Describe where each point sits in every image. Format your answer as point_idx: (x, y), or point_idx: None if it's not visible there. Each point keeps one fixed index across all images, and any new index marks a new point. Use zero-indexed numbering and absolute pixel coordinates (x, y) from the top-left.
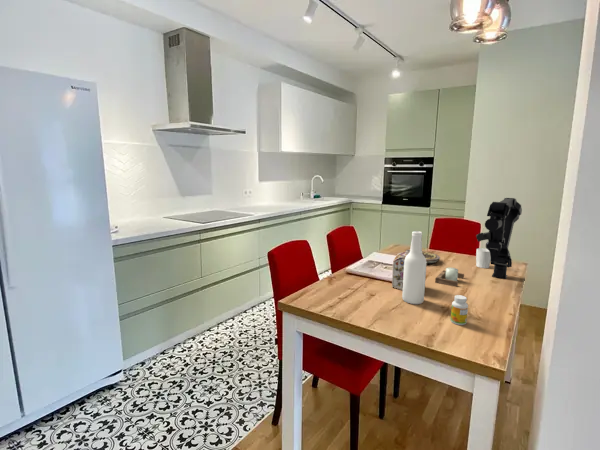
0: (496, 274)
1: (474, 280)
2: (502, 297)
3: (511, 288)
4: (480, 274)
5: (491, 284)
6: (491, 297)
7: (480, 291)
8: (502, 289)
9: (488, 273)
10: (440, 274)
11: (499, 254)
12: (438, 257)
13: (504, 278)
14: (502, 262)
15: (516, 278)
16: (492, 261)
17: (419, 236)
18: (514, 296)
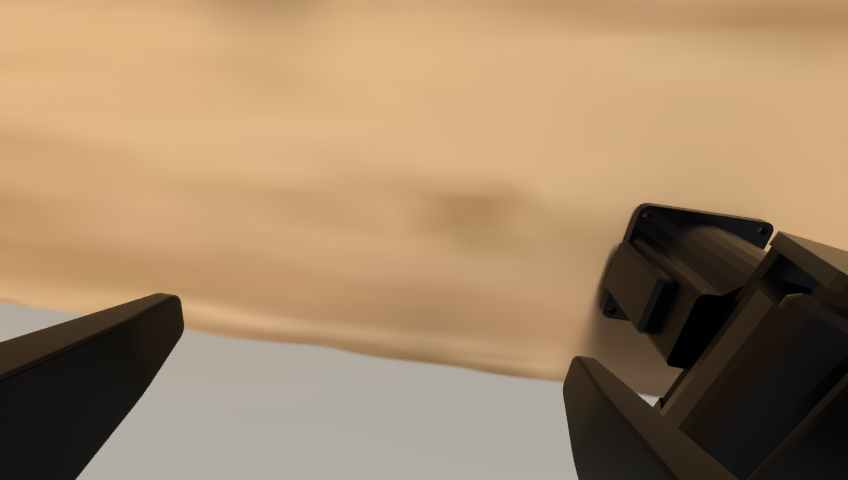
0: (628, 253)
1: (423, 25)
2: (90, 252)
3: (352, 323)
4: (707, 88)
5: (373, 190)
6: (22, 179)
7: (98, 94)
8: (284, 264)
9: (774, 174)
10: None
11: (782, 476)
12: None
13: (602, 302)
14: (671, 396)
15: (658, 380)
16: (163, 309)
17: None
18: None
